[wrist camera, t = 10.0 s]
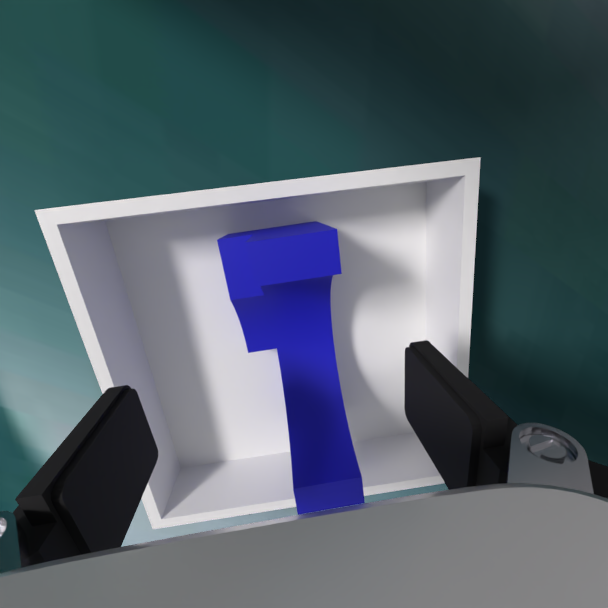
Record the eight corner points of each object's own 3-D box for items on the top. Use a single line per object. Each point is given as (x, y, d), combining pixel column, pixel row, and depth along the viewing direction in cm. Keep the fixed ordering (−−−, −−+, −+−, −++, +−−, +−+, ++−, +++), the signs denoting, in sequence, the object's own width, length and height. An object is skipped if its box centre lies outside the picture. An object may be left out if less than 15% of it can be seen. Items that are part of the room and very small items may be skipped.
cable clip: (228, 233, 16) (198, 249, 10) (315, 220, 16) (337, 228, 10) (268, 427, 19) (264, 520, 14) (339, 415, 19) (364, 502, 14)
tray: (95, 209, 15) (34, 210, 11) (432, 169, 16) (480, 157, 12) (176, 469, 20) (152, 529, 17) (429, 430, 21) (462, 480, 17)
